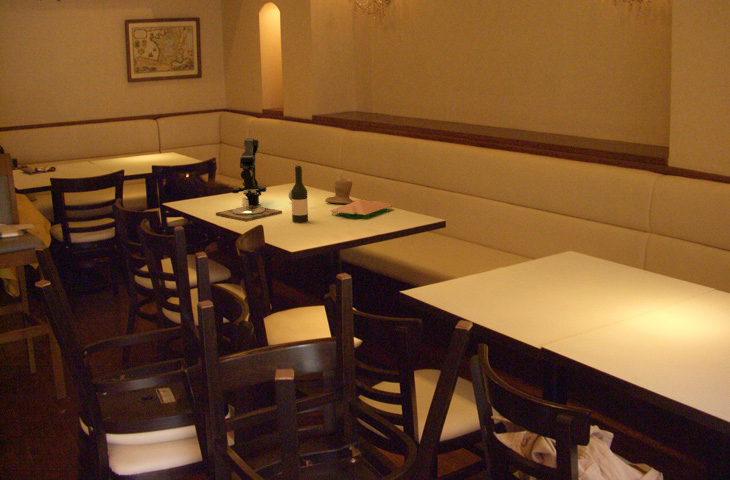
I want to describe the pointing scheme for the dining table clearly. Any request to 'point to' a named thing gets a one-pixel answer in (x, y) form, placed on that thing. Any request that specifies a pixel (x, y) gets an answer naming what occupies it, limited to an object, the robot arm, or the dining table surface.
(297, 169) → the wine bottle
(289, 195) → the donut
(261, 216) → the board
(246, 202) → the dial
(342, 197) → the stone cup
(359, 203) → the house
